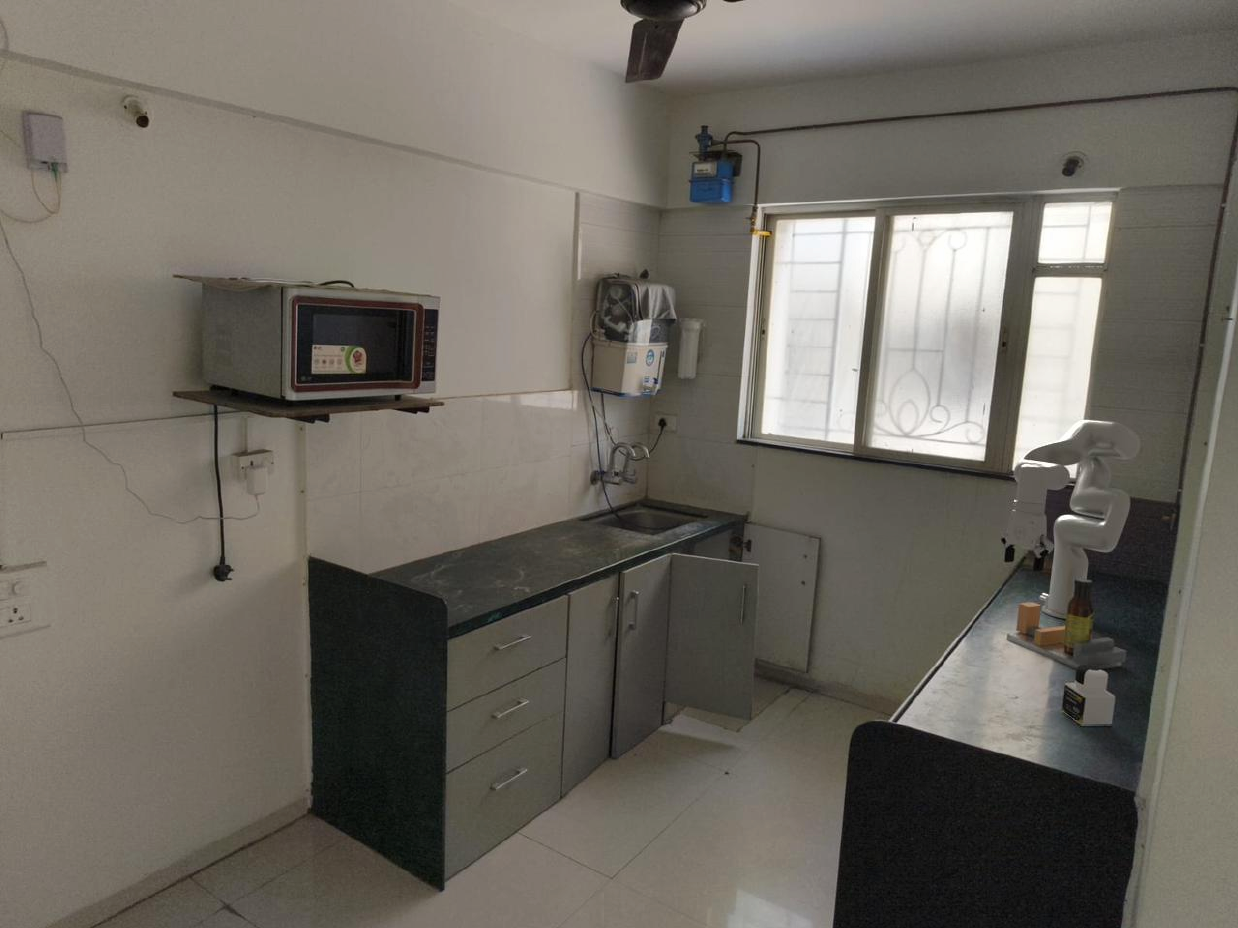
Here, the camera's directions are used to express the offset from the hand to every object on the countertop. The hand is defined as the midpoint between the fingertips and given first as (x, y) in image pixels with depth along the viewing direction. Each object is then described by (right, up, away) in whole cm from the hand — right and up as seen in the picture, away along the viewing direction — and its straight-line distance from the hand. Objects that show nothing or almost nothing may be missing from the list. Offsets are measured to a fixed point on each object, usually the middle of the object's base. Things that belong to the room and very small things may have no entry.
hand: (1023, 566), depth 227 cm
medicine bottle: (-12, -28, -52) cm, 60 cm away
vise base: (+5, -22, -11) cm, 25 cm away
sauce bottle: (+6, -21, -15) cm, 27 cm away
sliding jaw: (+2, -19, -4) cm, 20 cm away
